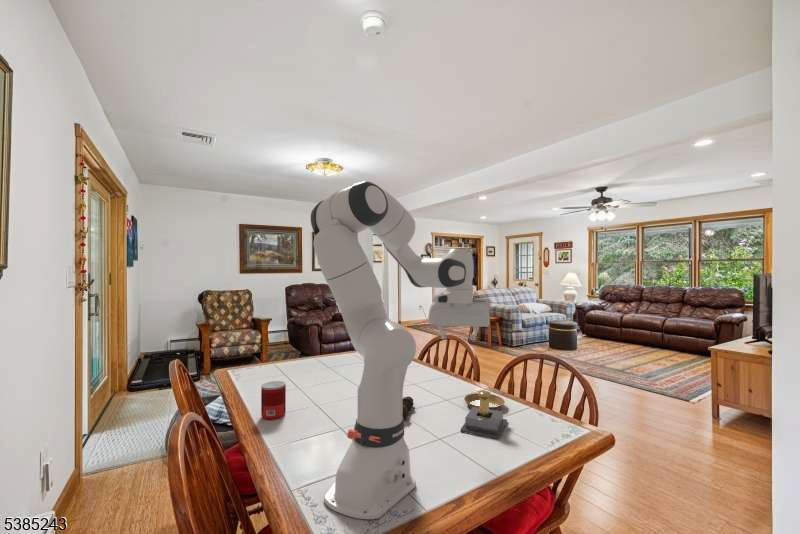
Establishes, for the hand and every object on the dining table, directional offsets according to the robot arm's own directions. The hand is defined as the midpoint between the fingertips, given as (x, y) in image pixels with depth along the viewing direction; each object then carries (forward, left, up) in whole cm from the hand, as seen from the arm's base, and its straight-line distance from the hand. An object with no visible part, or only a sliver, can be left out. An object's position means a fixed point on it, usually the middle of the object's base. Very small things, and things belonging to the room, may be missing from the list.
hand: (458, 339), depth 121 cm
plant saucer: (+19, -4, -28) cm, 35 cm away
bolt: (+1, +20, -28) cm, 34 cm away
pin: (+1, -8, -28) cm, 29 cm away
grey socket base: (+1, -8, -28) cm, 29 cm away
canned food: (-22, +60, -28) cm, 69 cm away
